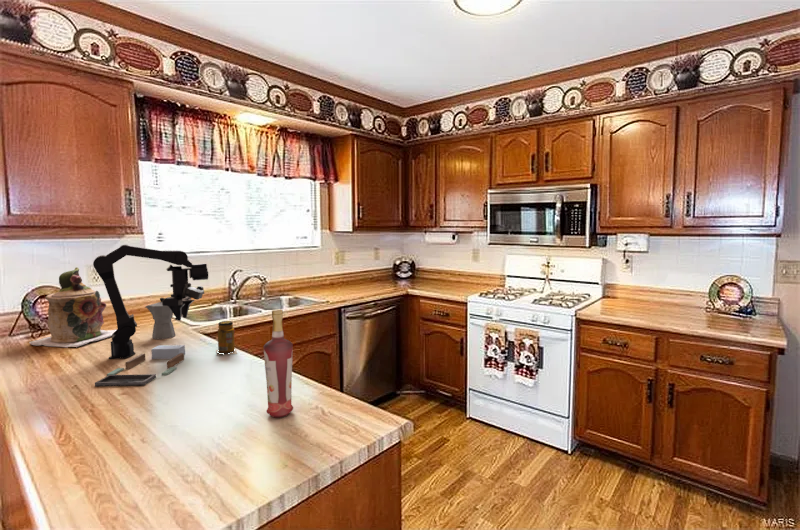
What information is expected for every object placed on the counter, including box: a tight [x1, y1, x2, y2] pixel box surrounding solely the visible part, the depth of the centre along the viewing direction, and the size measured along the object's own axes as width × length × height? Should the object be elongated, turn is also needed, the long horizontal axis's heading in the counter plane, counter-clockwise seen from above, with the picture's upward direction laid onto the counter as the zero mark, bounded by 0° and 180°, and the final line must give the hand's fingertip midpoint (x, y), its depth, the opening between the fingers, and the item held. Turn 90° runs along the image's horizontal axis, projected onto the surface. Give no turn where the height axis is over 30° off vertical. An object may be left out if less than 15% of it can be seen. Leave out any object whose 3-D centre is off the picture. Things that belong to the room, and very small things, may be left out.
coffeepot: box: [144, 297, 183, 340], centre depth 188 cm, size 15×9×18 cm, turn 118°
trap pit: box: [94, 373, 157, 388], centre depth 134 cm, size 15×7×1 cm, turn 92°
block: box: [151, 344, 186, 360], centre depth 160 cm, size 10×5×4 cm, turn 93°
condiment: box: [215, 320, 238, 356], centre depth 165 cm, size 7×8×12 cm
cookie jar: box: [28, 267, 117, 348], centre depth 183 cm, size 25×25×32 cm
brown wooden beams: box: [124, 353, 185, 370], centre depth 151 cm, size 15×10×2 cm, turn 92°
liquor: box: [263, 308, 294, 419], centre depth 109 cm, size 7×7×28 cm
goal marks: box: [106, 366, 177, 376], centre depth 143 cm, size 20×6×1 cm, turn 92°
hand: (182, 319), depth 171 cm, fingers open, 5 cm apart
